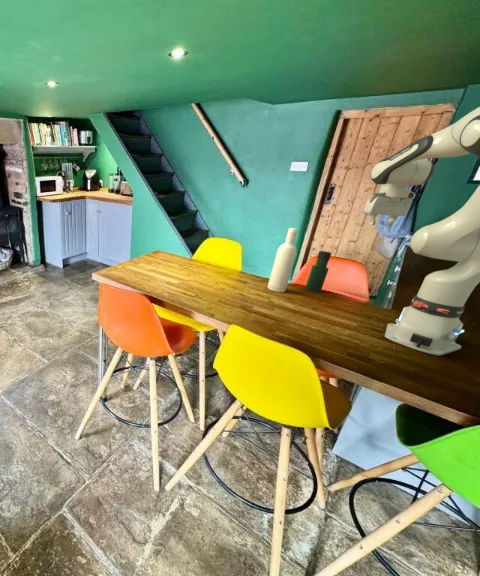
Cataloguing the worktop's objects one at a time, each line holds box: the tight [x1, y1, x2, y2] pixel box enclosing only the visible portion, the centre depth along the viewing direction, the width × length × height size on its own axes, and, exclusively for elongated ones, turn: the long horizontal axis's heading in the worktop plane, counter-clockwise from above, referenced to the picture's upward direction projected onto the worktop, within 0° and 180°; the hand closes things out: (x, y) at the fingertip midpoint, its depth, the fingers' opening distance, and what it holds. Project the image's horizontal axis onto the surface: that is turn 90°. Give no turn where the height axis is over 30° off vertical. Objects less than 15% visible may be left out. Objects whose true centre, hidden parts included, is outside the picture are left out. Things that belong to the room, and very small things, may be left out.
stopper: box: [316, 250, 332, 262], centre depth 146 cm, size 5×5×8 cm
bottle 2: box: [304, 258, 330, 293], centre depth 148 cm, size 7×7×16 cm
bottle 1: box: [267, 227, 299, 293], centre depth 143 cm, size 8×8×30 cm
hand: (380, 225), depth 135 cm, fingers open, 8 cm apart
